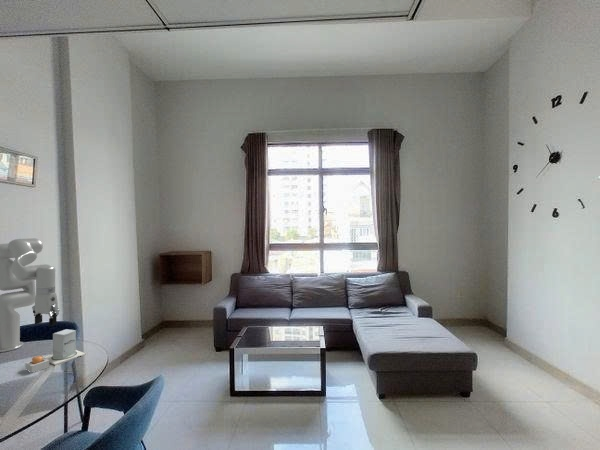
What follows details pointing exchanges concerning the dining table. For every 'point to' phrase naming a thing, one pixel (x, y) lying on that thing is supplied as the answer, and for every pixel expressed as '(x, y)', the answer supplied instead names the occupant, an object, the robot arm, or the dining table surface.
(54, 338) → the supplement box
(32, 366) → the button housing
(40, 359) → the button
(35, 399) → the dining table surface
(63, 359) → the picture board
